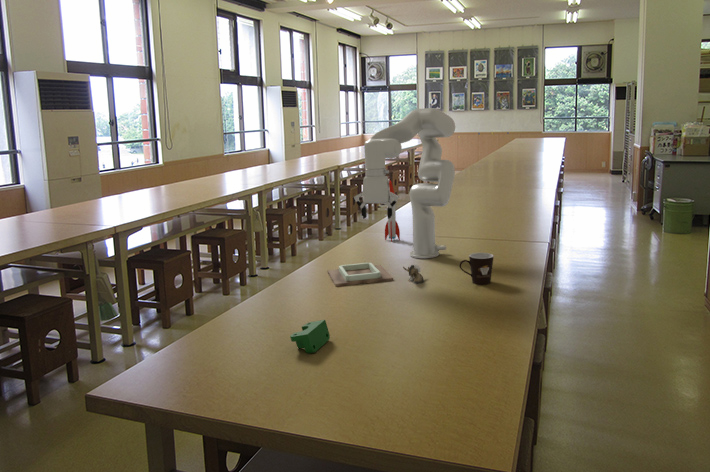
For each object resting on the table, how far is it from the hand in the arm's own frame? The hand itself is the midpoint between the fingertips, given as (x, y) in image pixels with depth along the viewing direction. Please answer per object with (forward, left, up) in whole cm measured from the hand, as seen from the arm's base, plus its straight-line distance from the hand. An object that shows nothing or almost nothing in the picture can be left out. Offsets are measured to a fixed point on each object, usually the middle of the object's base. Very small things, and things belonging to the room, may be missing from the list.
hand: (377, 217), depth 215 cm
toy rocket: (-21, -58, -23) cm, 65 cm away
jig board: (+8, -1, -23) cm, 24 cm away
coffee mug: (-31, +22, -23) cm, 45 cm away
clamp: (+35, +61, -23) cm, 74 cm away
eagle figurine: (-10, +12, -23) cm, 28 cm away
